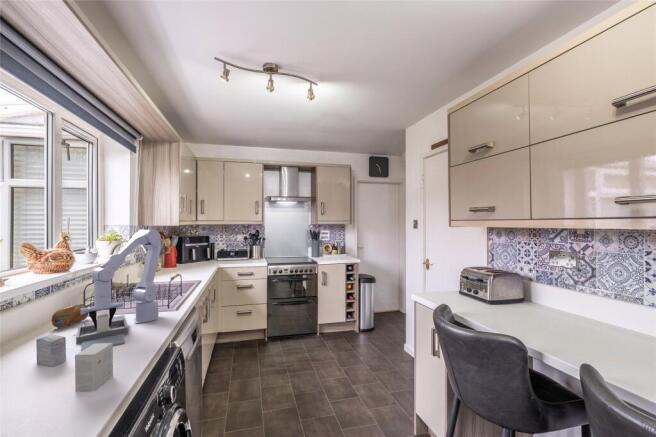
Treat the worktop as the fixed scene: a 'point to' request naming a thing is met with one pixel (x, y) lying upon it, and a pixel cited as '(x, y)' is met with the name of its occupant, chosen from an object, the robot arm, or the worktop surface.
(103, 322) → the block
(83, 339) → the grey open frame tray
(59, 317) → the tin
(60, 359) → the medicine box
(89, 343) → the mat
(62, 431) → the worktop surface
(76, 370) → the small box
